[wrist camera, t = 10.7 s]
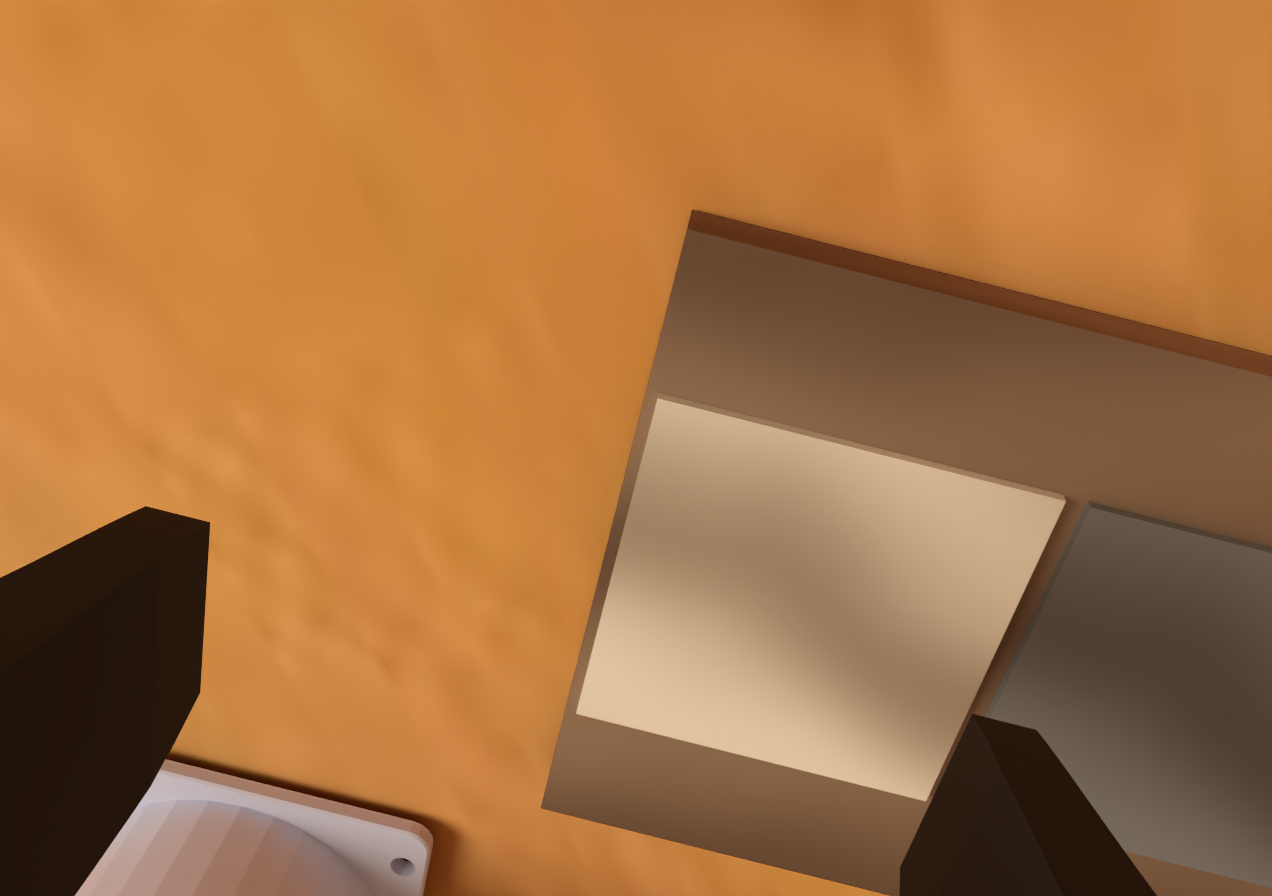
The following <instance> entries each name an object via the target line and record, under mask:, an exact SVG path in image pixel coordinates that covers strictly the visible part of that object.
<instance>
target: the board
mask: <svg viewBox="0 0 1272 896" xmlns="http://www.w3.org/2000/svg"><path fill="white" fill-rule="evenodd" d="M972 714H975V715H979V716H983V717H987V718H991V719H995V720H999V721H1003V722H1007V723H1011V724H1015V725H1019V726H1023V727H1027V728H1031V729H1035V730H1037V731H1038V732H1039V734H1040V735H1041V736H1042V737H1043V739H1044V740H1045V741H1046V743H1047V744H1048V745H1049V746H1050V748H1051V749H1052V750H1053V752H1054V753H1055V755H1056V756H1057V757H1058V759H1059V760H1060V761H1061V763H1062V764H1063V766H1064V767H1065V768H1066V770H1067V771H1068V772H1069V774H1070V775H1071V777H1072V778H1073V779H1074V781H1075V782H1076V784H1077V785H1078V787H1079V788H1080V789H1081V791H1082V792H1083V794H1084V795H1085V796H1086V798H1087V799H1088V801H1089V802H1090V803H1091V805H1092V806H1093V808H1094V809H1095V810H1096V812H1097V813H1098V815H1099V816H1100V817H1101V819H1102V820H1103V822H1104V823H1105V824H1106V826H1107V827H1108V829H1109V830H1110V831H1111V833H1112V834H1113V836H1114V837H1115V838H1116V840H1117V841H1118V843H1119V844H1120V846H1121V847H1122V848H1123V850H1124V851H1125V852H1126V854H1127V855H1128V857H1129V858H1130V859H1131V861H1132V862H1133V863H1134V865H1135V866H1136V868H1137V869H1138V870H1139V872H1140V873H1141V874H1142V876H1143V877H1144V879H1145V880H1146V881H1147V883H1148V884H1149V885H1150V887H1151V888H1152V889H1153V891H1154V892H1155V893H1156V895H1157V896H1272V356H1268V355H1264V354H1260V353H1256V352H1252V351H1249V350H1245V349H1241V348H1237V347H1233V346H1229V345H1225V344H1221V343H1217V342H1213V341H1209V340H1205V339H1201V338H1197V337H1193V336H1189V335H1185V334H1181V333H1177V332H1173V331H1169V330H1166V329H1162V328H1158V327H1154V326H1150V325H1146V324H1142V323H1138V322H1134V321H1130V320H1126V319H1122V318H1118V317H1114V316H1110V315H1106V314H1102V313H1098V312H1094V311H1090V310H1087V309H1083V308H1079V307H1075V306H1071V305H1067V304H1063V303H1059V302H1055V301H1051V300H1047V299H1043V298H1039V297H1035V296H1031V295H1027V294H1023V293H1019V292H1015V291H1011V290H1007V289H1004V288H1000V287H996V286H992V285H988V284H984V283H980V282H976V281H972V280H968V279H964V278H960V277H956V276H952V275H948V274H944V273H940V272H936V271H932V270H928V269H924V268H921V267H917V266H913V265H909V264H905V263H901V262H897V261H893V260H889V259H885V258H881V257H877V256H873V255H869V254H865V253H861V252H857V251H853V250H849V249H845V248H842V247H838V246H834V245H830V244H826V243H822V242H818V241H814V240H810V239H806V238H802V237H798V236H794V235H790V234H786V233H782V232H778V231H774V230H770V229H766V228H762V227H759V226H755V225H751V224H747V223H743V222H739V221H735V220H731V219H727V218H723V217H719V216H715V215H711V214H707V213H703V212H699V211H695V210H692V212H691V216H690V220H689V224H688V228H687V232H686V236H685V240H684V244H683V248H682V251H681V255H680V259H679V263H678V267H677V271H676V275H675V279H674V283H673V287H672V291H671V295H670V299H669V303H668V307H667V311H666V315H665V319H664V323H663V327H662V331H661V334H660V338H659V342H658V346H657V350H656V354H655V358H654V362H653V366H652V370H651V374H650V378H649V382H648V386H647V390H646V394H645V398H644V402H643V406H642V410H641V413H640V417H639V421H638V425H637V429H636V433H635V437H634V441H633V445H632V449H631V453H630V457H629V461H628V465H627V469H626V473H625V477H624V481H623V485H622V489H621V492H620V496H619V500H618V504H617V508H616V512H615V516H614V520H613V524H612V528H611V532H610V536H609V540H608V544H607V548H606V552H605V556H604V560H603V564H602V568H601V571H600V575H599V579H598V583H597V587H596V591H595V595H594V599H593V603H592V607H591V611H590V615H589V619H588V623H587V627H586V631H585V635H584V639H583V643H582V647H581V651H580V654H579V658H578V662H577V666H576V670H575V674H574V678H573V682H572V686H571V690H570V694H569V698H568V702H567V706H566V710H565V714H564V718H563V722H562V726H561V730H560V733H559V737H558V741H557V745H556V749H555V753H554V757H553V761H552V765H551V769H550V773H549V777H548V781H547V785H546V789H545V793H544V797H543V801H542V805H541V808H542V809H546V810H550V811H554V812H558V813H562V814H566V815H570V816H574V817H578V818H582V819H586V820H590V821H594V822H598V823H602V824H606V825H610V826H614V827H618V828H622V829H626V830H630V831H634V832H638V833H642V834H646V835H650V836H654V837H658V838H662V839H666V840H670V841H674V842H678V843H682V844H686V845H690V846H694V847H698V848H702V849H706V850H710V851H714V852H718V853H722V854H726V855H730V856H734V857H738V858H742V859H746V860H750V861H754V862H758V863H762V864H766V865H770V866H774V867H778V868H782V869H786V870H790V871H794V872H798V873H802V874H806V875H810V876H814V877H818V878H822V879H826V880H830V881H834V882H838V883H842V884H846V885H850V886H854V887H858V888H862V889H866V890H870V891H874V892H878V893H882V894H886V895H890V896H899V895H900V866H901V864H902V862H903V860H904V858H905V856H906V854H907V851H908V849H909V847H910V845H911V843H912V841H913V839H914V837H915V834H916V832H917V830H918V828H919V826H920V824H921V822H922V819H923V817H924V815H925V813H926V811H927V809H928V807H929V805H930V802H931V800H932V798H933V796H934V794H935V792H936V790H937V788H938V785H939V783H940V781H941V779H942V777H943V775H944V773H945V770H946V768H947V766H948V764H949V762H950V760H951V758H952V756H953V753H954V751H955V749H956V747H957V745H958V743H959V741H960V739H961V736H962V734H963V732H964V730H965V728H966V726H967V724H968V722H969V719H970V717H971V715H972Z"/></svg>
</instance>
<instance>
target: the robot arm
mask: <svg viewBox="0 0 1272 896" xmlns="http://www.w3.org/2000/svg"><path fill="white" fill-rule="evenodd" d="M209 532H210V522H206V521H202V520H198V519H194V518H190V517H186V516H182V515H178V514H174V513H170V512H166V511H162V510H158V509H154V508H150V507H146V506H145V507H143V508H141V509H139V510H137V511H134V512H132V513H130V514H128V515H126V516H124V517H122V518H119V519H117V520H115V521H113V522H111V523H109V524H107V525H105V526H103V527H101V528H99V529H97V530H95V531H93V532H91V533H89V534H87V535H85V536H83V537H81V538H79V539H77V540H75V541H73V542H71V543H69V544H67V545H66V546H64V547H62V548H60V549H58V550H56V551H54V552H52V553H50V554H48V555H46V556H44V557H42V558H40V559H38V560H36V561H34V562H32V563H30V564H28V565H26V566H24V567H22V568H20V569H18V570H16V571H13V572H11V573H9V574H7V575H5V576H3V577H1V578H0V896H423V894H424V889H425V884H426V879H427V874H428V869H429V864H430V859H431V854H432V848H433V836H432V834H431V833H430V831H429V830H428V829H427V828H426V827H424V826H423V825H422V824H420V823H417V822H415V821H411V820H407V819H403V818H399V817H395V816H391V815H387V814H383V813H379V812H375V811H371V810H367V809H363V808H359V807H355V806H351V805H347V804H343V803H339V802H335V801H331V800H327V799H323V798H319V797H315V796H311V795H307V794H303V793H299V792H295V791H291V790H287V789H283V788H279V787H275V786H271V785H267V784H263V783H259V782H255V781H251V780H247V779H243V778H239V777H235V776H231V775H227V774H223V773H219V772H215V771H211V770H207V769H203V768H199V767H195V766H191V765H187V764H183V763H179V762H175V761H171V760H167V759H166V757H167V756H168V754H169V752H170V750H171V748H172V746H173V744H174V743H175V741H176V739H177V737H178V735H179V733H180V731H181V729H182V727H183V725H184V723H185V721H186V719H187V717H188V715H189V713H190V711H191V709H192V707H193V705H194V703H195V701H196V699H197V698H198V696H199V694H200V685H201V668H202V651H203V634H204V617H205V600H206V583H207V566H208V549H209ZM400 858H405V859H407V860H409V861H411V862H409V861H405V860H402V859H400ZM899 896H1157V895H1156V893H1155V892H1154V891H1153V889H1152V888H1151V887H1150V885H1149V884H1148V883H1147V881H1146V880H1145V879H1144V877H1143V876H1142V874H1141V873H1140V872H1139V870H1138V869H1137V868H1136V866H1135V865H1134V863H1133V862H1132V861H1131V859H1130V858H1129V857H1128V855H1127V854H1126V852H1125V851H1124V850H1123V848H1122V847H1121V846H1120V844H1119V843H1118V841H1117V840H1116V838H1115V837H1114V836H1113V834H1112V833H1111V831H1110V830H1109V829H1108V827H1107V826H1106V824H1105V823H1104V822H1103V820H1102V819H1101V817H1100V816H1099V815H1098V813H1097V812H1096V810H1095V809H1094V808H1093V806H1092V805H1091V803H1090V802H1089V801H1088V799H1087V798H1086V796H1085V795H1084V794H1083V792H1082V791H1081V789H1080V788H1079V787H1078V785H1077V784H1076V782H1075V781H1074V779H1073V778H1072V777H1071V775H1070V774H1069V772H1068V771H1067V770H1066V768H1065V767H1064V766H1063V764H1062V763H1061V761H1060V760H1059V759H1058V757H1057V756H1056V755H1055V753H1054V752H1053V750H1052V749H1051V748H1050V746H1049V745H1048V744H1047V743H1046V741H1045V740H1044V739H1043V737H1042V736H1041V735H1040V734H1039V732H1038V731H1037V730H1035V729H1031V728H1027V727H1023V726H1019V725H1015V724H1011V723H1007V722H1003V721H999V720H995V719H991V718H987V717H983V716H979V715H975V714H972V715H971V717H970V719H969V722H968V724H967V726H966V728H965V730H964V732H963V734H962V736H961V739H960V741H959V743H958V745H957V747H956V749H955V751H954V753H953V756H952V758H951V760H950V762H949V764H948V766H947V768H946V770H945V773H944V775H943V777H942V779H941V781H940V783H939V785H938V788H937V790H936V792H935V794H934V796H933V798H932V800H931V802H930V805H929V807H928V809H927V811H926V813H925V815H924V817H923V819H922V822H921V824H920V826H919V828H918V830H917V832H916V834H915V837H914V839H913V841H912V843H911V845H910V847H909V849H908V851H907V854H906V856H905V858H904V860H903V862H902V864H901V866H900V895H899Z"/></svg>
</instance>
